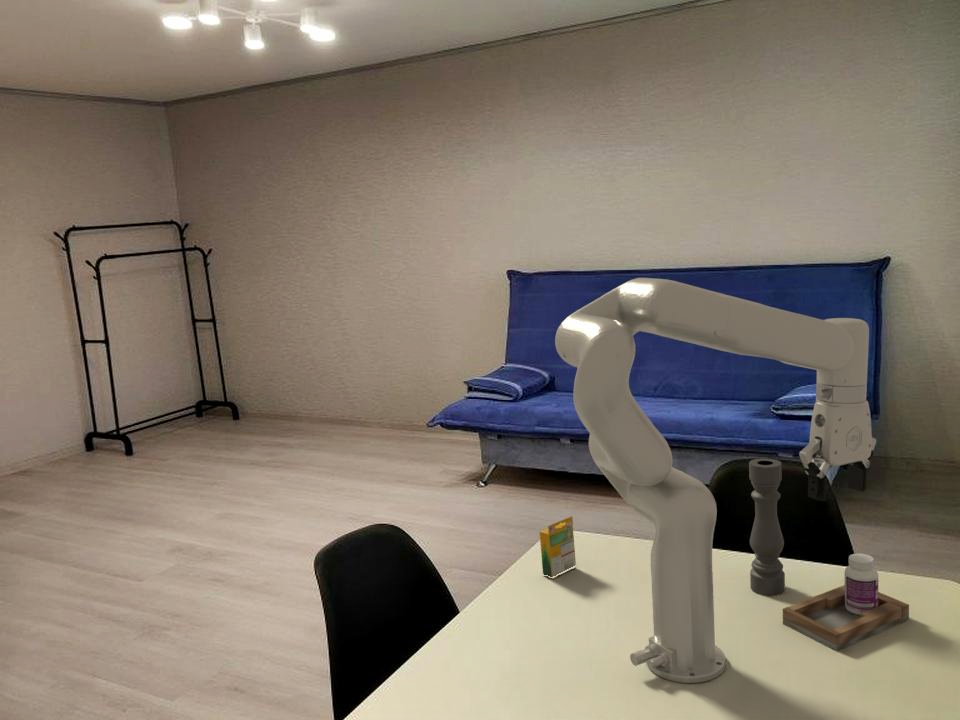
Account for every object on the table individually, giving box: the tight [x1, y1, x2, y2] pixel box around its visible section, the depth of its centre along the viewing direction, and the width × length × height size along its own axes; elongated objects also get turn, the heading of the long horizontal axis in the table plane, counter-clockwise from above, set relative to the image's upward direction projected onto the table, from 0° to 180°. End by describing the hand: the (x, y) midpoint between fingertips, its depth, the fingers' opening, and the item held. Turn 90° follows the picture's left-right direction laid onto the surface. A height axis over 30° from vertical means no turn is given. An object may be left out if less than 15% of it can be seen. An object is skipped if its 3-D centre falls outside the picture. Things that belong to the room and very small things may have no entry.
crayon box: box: [539, 515, 577, 577], centre depth 164 cm, size 7×3×12 cm, turn 130°
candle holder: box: [748, 457, 786, 597], centre depth 149 cm, size 6×6×25 cm
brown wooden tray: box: [782, 584, 910, 652], centre depth 136 cm, size 18×11×3 cm, turn 117°
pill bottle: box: [844, 553, 879, 616], centre depth 137 cm, size 5×5×10 cm
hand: (836, 494), depth 132 cm, fingers open, 9 cm apart
